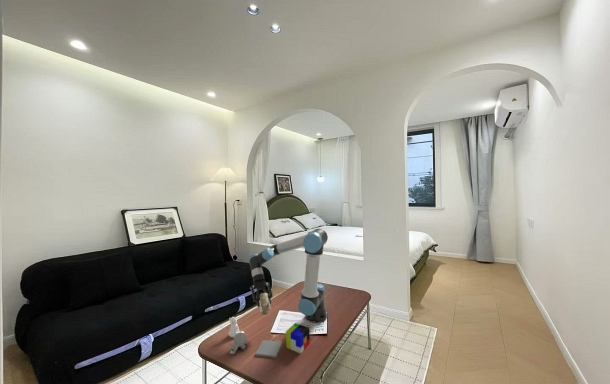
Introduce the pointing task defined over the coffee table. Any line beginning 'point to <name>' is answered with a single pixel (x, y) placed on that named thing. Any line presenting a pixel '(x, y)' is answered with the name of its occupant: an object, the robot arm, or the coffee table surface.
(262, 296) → the birch tool handle
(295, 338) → the puzzle toy
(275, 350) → the board
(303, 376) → the coffee table surface
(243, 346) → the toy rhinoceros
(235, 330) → the sitting furry creature
